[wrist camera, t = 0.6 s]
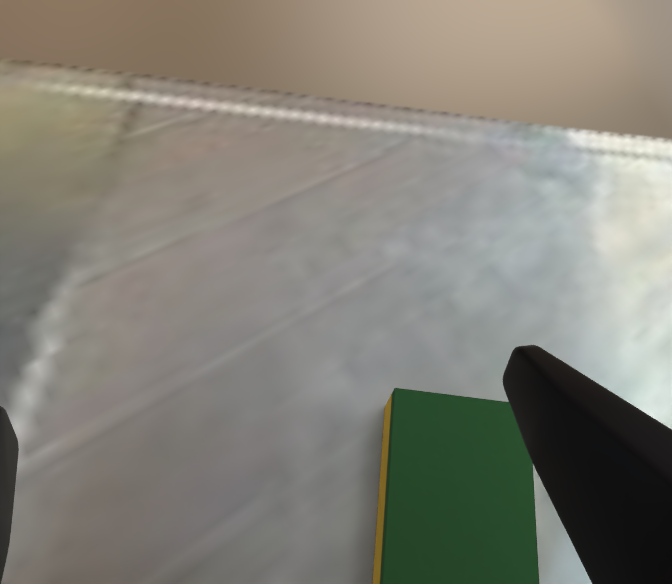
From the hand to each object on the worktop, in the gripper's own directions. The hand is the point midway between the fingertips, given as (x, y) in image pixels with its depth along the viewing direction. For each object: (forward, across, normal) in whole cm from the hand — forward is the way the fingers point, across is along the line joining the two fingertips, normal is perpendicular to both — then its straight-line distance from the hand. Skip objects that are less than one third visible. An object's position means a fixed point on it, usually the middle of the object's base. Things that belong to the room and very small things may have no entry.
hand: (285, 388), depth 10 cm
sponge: (+5, -8, +15) cm, 18 cm away
